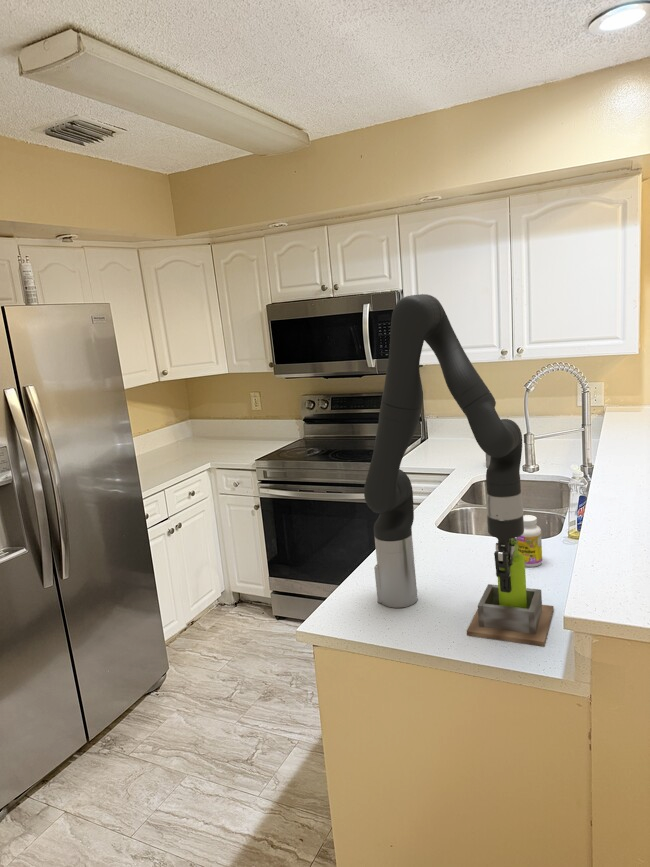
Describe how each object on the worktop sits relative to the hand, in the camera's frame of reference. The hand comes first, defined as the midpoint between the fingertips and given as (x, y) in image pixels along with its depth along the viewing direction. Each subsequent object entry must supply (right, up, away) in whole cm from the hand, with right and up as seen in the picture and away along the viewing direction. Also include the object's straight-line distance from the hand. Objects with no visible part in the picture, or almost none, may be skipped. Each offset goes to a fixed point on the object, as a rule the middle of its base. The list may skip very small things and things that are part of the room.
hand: (508, 584), depth 133 cm
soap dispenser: (+1, -7, +1) cm, 7 cm away
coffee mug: (+35, +19, +130) cm, 136 cm away
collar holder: (+1, -9, +2) cm, 9 cm away
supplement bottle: (+15, -2, +31) cm, 34 cm away
